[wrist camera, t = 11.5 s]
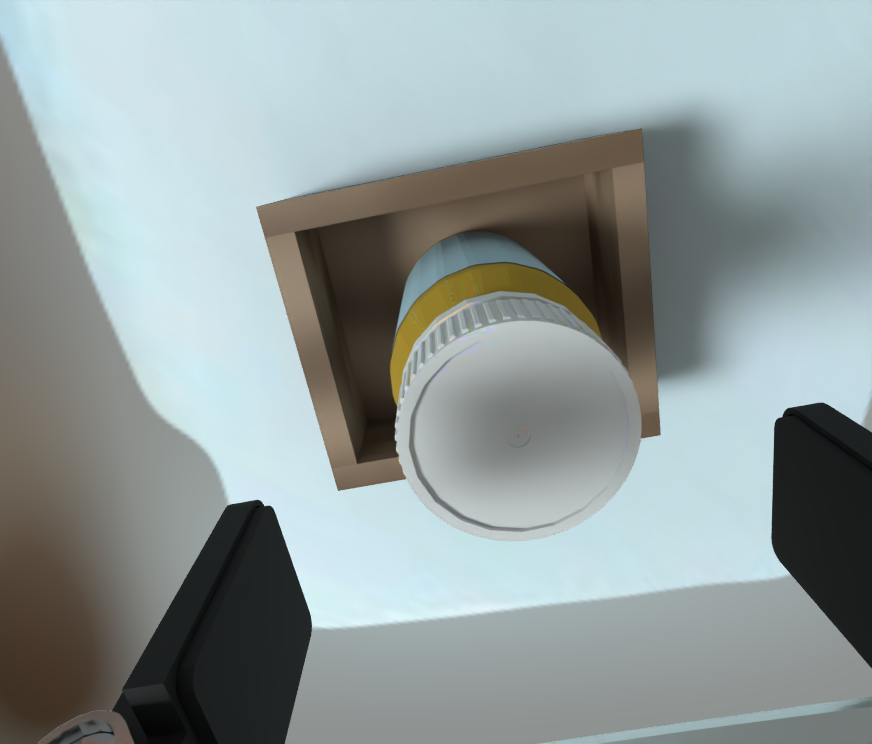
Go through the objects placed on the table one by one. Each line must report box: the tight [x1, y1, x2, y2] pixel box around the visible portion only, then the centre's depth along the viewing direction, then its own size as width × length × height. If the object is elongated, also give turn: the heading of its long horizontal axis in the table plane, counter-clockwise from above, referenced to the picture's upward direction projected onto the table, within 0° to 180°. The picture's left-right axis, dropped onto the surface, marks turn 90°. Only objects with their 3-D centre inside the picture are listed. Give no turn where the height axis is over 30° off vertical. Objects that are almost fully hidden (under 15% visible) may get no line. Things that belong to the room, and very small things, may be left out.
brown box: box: [256, 129, 660, 491], centre depth 27 cm, size 13×15×6 cm
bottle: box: [390, 231, 642, 541], centre depth 21 cm, size 7×7×15 cm
